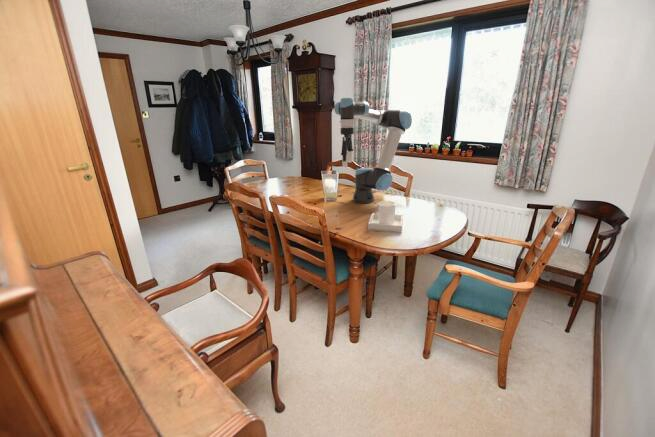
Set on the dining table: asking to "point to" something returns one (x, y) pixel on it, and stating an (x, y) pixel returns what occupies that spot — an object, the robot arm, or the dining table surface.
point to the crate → (396, 226)
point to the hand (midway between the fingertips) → (347, 164)
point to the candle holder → (386, 212)
